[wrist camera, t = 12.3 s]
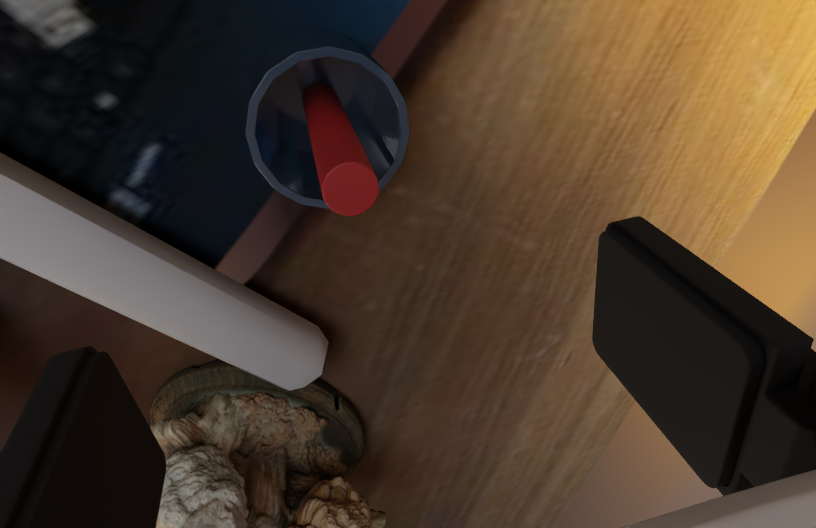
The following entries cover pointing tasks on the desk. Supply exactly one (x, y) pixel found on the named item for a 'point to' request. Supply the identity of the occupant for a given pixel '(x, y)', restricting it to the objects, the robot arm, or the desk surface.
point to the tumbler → (285, 118)
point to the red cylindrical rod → (338, 153)
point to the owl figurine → (257, 453)
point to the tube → (151, 280)
